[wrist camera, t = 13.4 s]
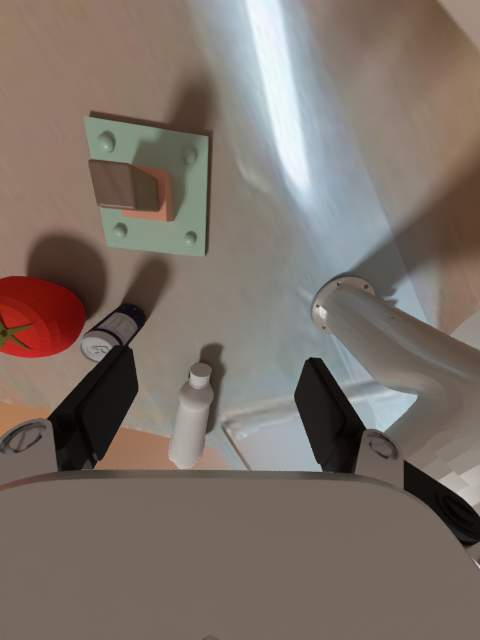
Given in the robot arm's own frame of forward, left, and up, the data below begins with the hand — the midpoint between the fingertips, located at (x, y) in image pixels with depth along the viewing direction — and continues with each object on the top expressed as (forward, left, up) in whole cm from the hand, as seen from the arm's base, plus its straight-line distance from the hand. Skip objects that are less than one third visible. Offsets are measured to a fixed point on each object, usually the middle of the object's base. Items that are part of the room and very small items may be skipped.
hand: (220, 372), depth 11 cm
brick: (+12, -9, -27) cm, 31 cm away
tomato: (+31, +11, -28) cm, 44 cm away
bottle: (+5, +37, -29) cm, 47 cm away
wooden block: (+12, -9, -24) cm, 28 cm away
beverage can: (+18, +12, -28) cm, 36 cm away
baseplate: (+12, -9, -28) cm, 32 cm away
